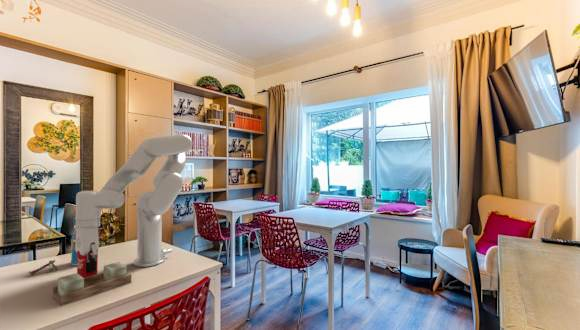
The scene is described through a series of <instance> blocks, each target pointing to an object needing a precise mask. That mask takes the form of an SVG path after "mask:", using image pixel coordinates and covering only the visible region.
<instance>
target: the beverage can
mask: <svg viewBox="0 0 580 330" xmlns="http://www.w3.org/2000/svg"><path fill="white" fill-rule="evenodd" d="M98 252H99V251H98ZM98 252H97V256H96V259H97V260H96V271H93V272H90V273H86V262H87V259H86V255H85V256H83V255H81V254H80V251H79V250H78V252H77V268H76V269H77V270H76V273H77V274H79V275H80V276H81V277H83V278H86V277H89V276H93V275H96V274H98V269H99V268H98V261H99V260H98V259H99V255H98V254H99V253H98ZM89 253H92V252H91V251H90V252H88V254H89ZM90 256H92V255H89V258H90Z"/></svg>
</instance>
